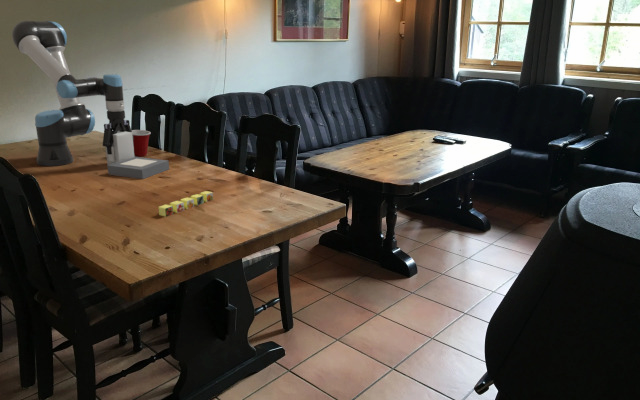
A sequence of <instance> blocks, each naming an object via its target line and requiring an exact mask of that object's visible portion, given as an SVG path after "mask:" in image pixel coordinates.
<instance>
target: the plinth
mask: <svg viewBox="0 0 640 400" xmlns="http://www.w3.org/2000/svg"><path fill="white" fill-rule="evenodd" d="M169 170H170V164H169V160H166V159H158V158H151V157H150V158H149V157H143V156H142V157H137V156H134V157H133V158H130V159H127V160H123V161H120V162H117V163H114V164H110V165H107V174H108V175H111V176H116V177H117V176H118V177H125V178H133V179H138V180H144V179H147V178H149V177H153V176H155V175H158V174H161V173H163V172H166V171H169Z"/></svg>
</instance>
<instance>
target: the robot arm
mask: <svg viewBox="0 0 640 400" xmlns="http://www.w3.org/2000/svg"><path fill="white" fill-rule="evenodd" d="M11 38H12V42H13V45H14V46H15V47H16V48H17V49H18V50H19V52H20V53H22V54H25V55H27V56H28V57H29V58H30V59H31V60H32V61H33V62H34V64H36V65H37V66H38V67H39V68H40V69H41V71H43V73H45V74H46V75H47V77H48V78H49V79H51V81H52V84H53V87H54V91H55V93H56V96H57V99H58V102H59V105H60V107H59V108H58V109H51V110H45V111H42V112H38V113H37V114H36V115H35V117H34V121H35V123H34V124H35V125H34V126H35V130H36V134H37V135H36V136H37V141H38V142H37V143H38V151H37V157H36V164H37V165H39V166H42V167H43V166H44V167H45V166H46V167H53V166H55V167H56V166H63V165H68V164H71V163H73V162H74V157H73V154H72V152H71V151H70V148H69V146H68V142H67V141H68V140H67V139H68V138H71V137H76V136H77V137H78V136H84V135H88V134H90V133H92V132H93V130H94V129H95V125H96V118H95V115H94V113H93V112H92V110H90V109H88V108H86V105H85V103H83V102H81V101H80V98H84V97H94V96H95V97H96V96H103V97H105V109H106V116H107V117H106V118H107V119H108V123H103V129H104V130H103V136H102V137H103V138H102V147H107V154H108V157H109V161H113V162H114V161H115V157H114V148H113V147H112V144H113V134H116V133H117V131H122V132H132V131H131V130H132V128H131V126H130V125H131V124H130V120H129V119H126V112H125V102H124V89H123V81H122V76H121V75H120V74H116V73H115V74H113V73H112V74H104V75H103V76H102V77H88V78H80V79H79V78H78V79H77V78H76V77H74V75H72V74H71V72H70V69H69V66H68V63H67V60H66V57H65V54H64V52H65V50H66V47H65V46H66V45H67V42H68V37H67V33H66V31H65V28H64V27H63V26H62V25H61V24H60V23H58V22H56V21H50V20H45V21H44V20H41V21H40V20H23V21H20V22H17V24H15V25H14V26H13V29H12V32H11ZM132 136H133V134H132ZM133 140H134V137H133Z"/></svg>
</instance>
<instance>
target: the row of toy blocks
mask: <svg viewBox="0 0 640 400" xmlns="http://www.w3.org/2000/svg"><path fill="white" fill-rule="evenodd" d="M213 200H214V194H213V192H212V191H208V190H204V191H202V192H200V193H199V194H197V193H196V194H192V195H190V196H189V197H184V198H180V200H175V201H172V202H169V204H166V203H165V204H163V205H160V206H158V215H159V216H162V217H166V218H167V217H169V216H173V215H174V213H181V212H183V211H185V209H186V210H188V209H192V208H194V207H195V206H200V205H203V204H204V202H205V203H208V202H211V201H213Z"/></svg>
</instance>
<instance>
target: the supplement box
mask: <svg viewBox="0 0 640 400" xmlns="http://www.w3.org/2000/svg"><path fill="white" fill-rule="evenodd" d="M104 147H105V146H104ZM112 147H113V148H114V157H115V161H114V162H113V161H109V157H108V154H107V147H105V148H104V149H105V153H106V154H105V156H106V163H107V165H110V164H114V163H117V162H120V161H123V160H127V159H130V158H133V157H135V155H134V147H133V136H132V132H122V131H117V133H116V134H113V144H112Z"/></svg>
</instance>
